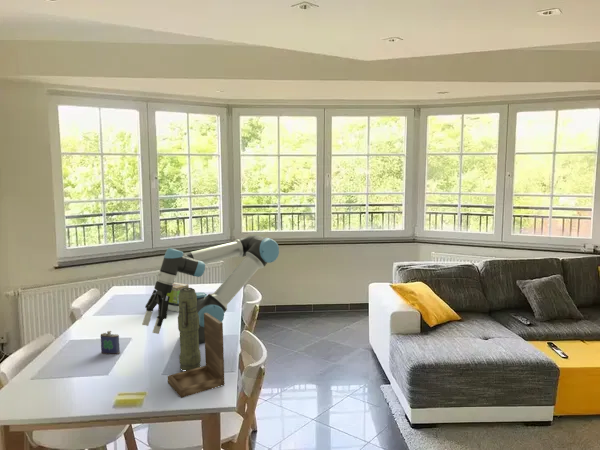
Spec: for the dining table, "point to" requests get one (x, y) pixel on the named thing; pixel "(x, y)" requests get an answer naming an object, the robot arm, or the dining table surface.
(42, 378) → the dining table surface
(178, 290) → the tea box
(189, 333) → the thermos
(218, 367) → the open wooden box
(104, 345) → the flask
